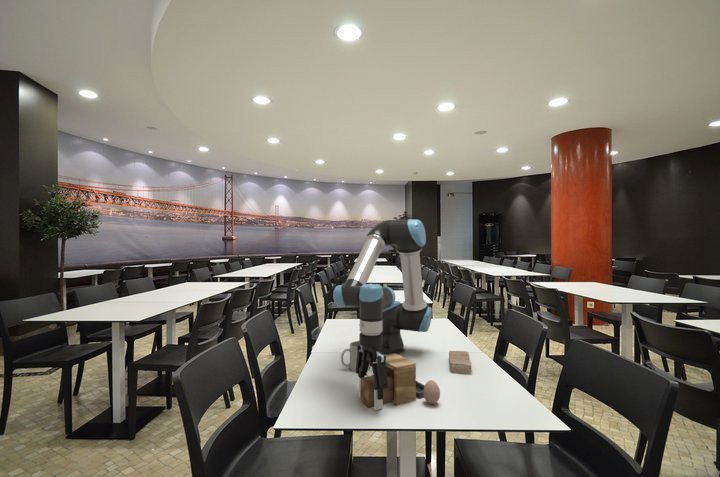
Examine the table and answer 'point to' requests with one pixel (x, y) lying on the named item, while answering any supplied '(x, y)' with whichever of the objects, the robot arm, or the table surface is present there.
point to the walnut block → (368, 390)
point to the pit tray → (419, 390)
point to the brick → (460, 362)
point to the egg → (431, 392)
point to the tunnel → (402, 378)
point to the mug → (352, 356)
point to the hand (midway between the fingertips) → (370, 402)
